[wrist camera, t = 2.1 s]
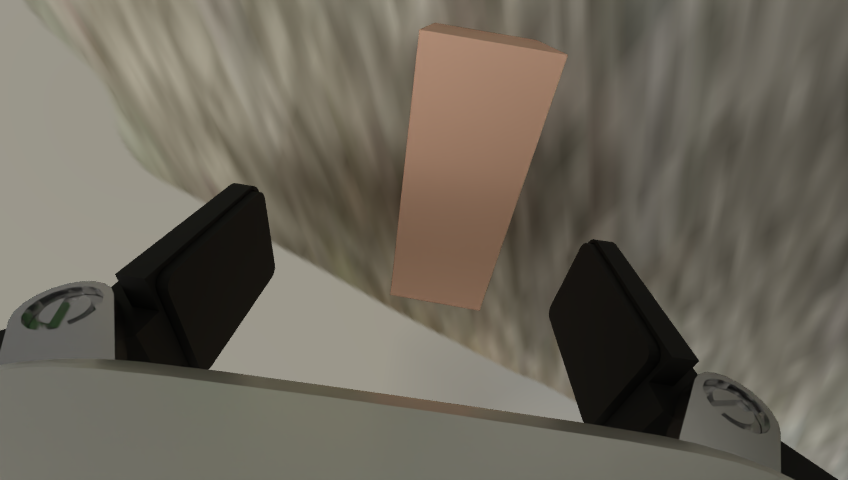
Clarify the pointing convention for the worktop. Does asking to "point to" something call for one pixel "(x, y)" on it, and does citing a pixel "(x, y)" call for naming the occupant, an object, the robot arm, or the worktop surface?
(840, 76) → the worktop surface
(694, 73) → the worktop surface
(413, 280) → the salmon pink rectangular block
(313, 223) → the worktop surface
